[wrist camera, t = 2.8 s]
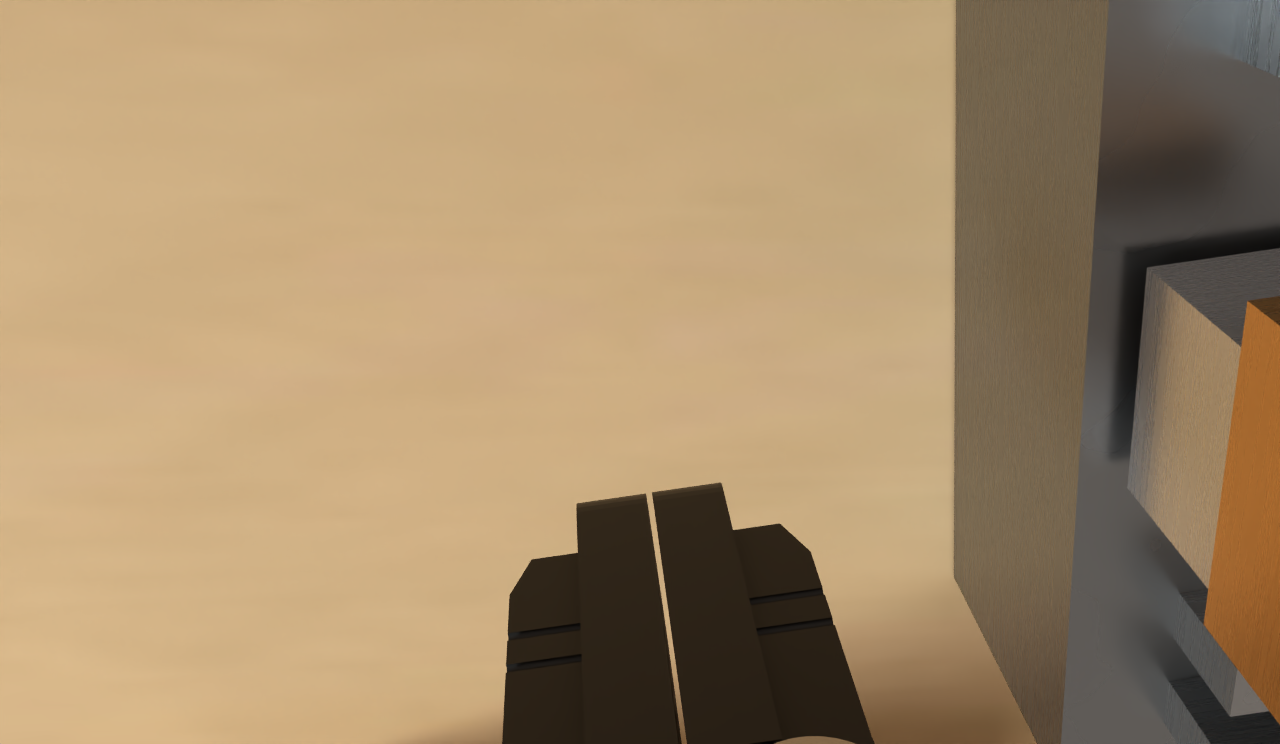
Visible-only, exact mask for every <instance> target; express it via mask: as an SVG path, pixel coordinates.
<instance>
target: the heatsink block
mask: <svg viewBox="0 0 1280 744" xmlns="http://www.w3.org/2000/svg"><path fill="white" fill-rule="evenodd" d="M1277 248H1280V0H956V207H955V472H954V578H955V580H956V582H957V584H958V586H959V588H960V590H961V592H962V594H963V596H964V598H965V600H966V602H967V604H968V606H969V608H970V610H971V612H972V614H973V616H974V618H975V620H976V622H977V624H978V626H979V628H980V630H981V632H982V634H983V636H984V638H985V640H986V642H987V644H988V646H989V648H990V650H991V652H992V654H993V656H994V658H995V660H996V662H997V664H998V666H999V668H1000V670H1001V672H1002V674H1003V676H1004V678H1005V680H1006V682H1007V684H1008V686H1009V688H1010V690H1011V692H1012V694H1013V696H1014V698H1015V700H1016V702H1017V704H1018V706H1019V708H1020V710H1021V712H1022V714H1023V716H1024V718H1025V720H1026V722H1027V724H1028V726H1029V728H1030V730H1031V732H1032V734H1033V736H1034V738H1035V740H1036V742H1037V744H1280V725H1279V723H1278V722H1277V721H1276V719H1275V718H1274V717H1273V715H1272V714H1271V713H1270V711H1269V710H1268V709H1267V707H1266V706H1265V705H1264V703H1263V702H1262V701H1261V700H1260V698H1259V697H1258V696H1257V694H1256V693H1255V692H1254V690H1253V689H1252V688H1251V686H1250V685H1249V684H1248V682H1247V681H1246V680H1245V678H1244V677H1243V676H1242V675H1241V673H1240V672H1239V671H1238V669H1237V668H1236V667H1235V665H1234V664H1233V663H1232V661H1231V660H1230V659H1229V657H1228V656H1227V655H1226V653H1225V652H1224V651H1223V650H1222V648H1221V647H1220V646H1219V644H1218V643H1217V642H1216V640H1215V639H1214V638H1213V636H1212V635H1211V634H1210V632H1209V631H1208V630H1207V628H1206V627H1205V626H1204V617H1205V610H1206V603H1207V595H1208V588H1207V587H1206V586H1205V585H1204V583H1203V582H1202V581H1201V580H1200V578H1199V577H1198V576H1197V575H1196V573H1195V572H1194V571H1193V570H1192V568H1191V567H1190V566H1189V564H1188V563H1187V562H1186V561H1185V559H1184V558H1183V557H1182V556H1181V554H1180V553H1179V552H1178V551H1177V549H1176V548H1175V547H1174V546H1173V544H1172V543H1171V542H1170V541H1169V539H1168V538H1167V537H1166V536H1165V534H1164V533H1163V532H1162V531H1161V529H1160V528H1159V527H1158V526H1157V524H1156V523H1155V522H1154V521H1153V519H1152V518H1151V517H1150V516H1149V514H1148V513H1147V512H1146V511H1145V509H1144V508H1143V507H1142V506H1141V504H1140V503H1139V502H1138V501H1137V499H1136V498H1135V497H1134V495H1133V494H1132V493H1131V492H1130V490H1129V489H1128V488H1127V487H1128V475H1129V464H1130V453H1131V442H1132V431H1133V419H1134V408H1135V397H1136V386H1137V374H1138V363H1139V352H1140V341H1141V330H1142V318H1143V307H1144V296H1145V285H1146V273H1147V267H1153V266H1160V265H1167V264H1174V263H1181V262H1188V261H1194V260H1201V259H1208V258H1215V257H1222V256H1229V255H1236V254H1242V253H1249V252H1256V251H1263V250H1270V249H1277Z"/></svg>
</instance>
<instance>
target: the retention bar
mask: <svg viewBox="0 0 1280 744" xmlns="http://www.w3.org/2000/svg"><path fill="white" fill-rule="evenodd" d="M1127 488H1128V489H1129V490H1130V492H1131V493H1132V494H1133V495H1134V497H1135V498H1136V499H1137V501H1138V502H1139V503H1140V504H1141V506H1142V507H1143V508H1144V509H1145V511H1146V512H1147V513H1148V514H1149V516H1150V517H1151V518H1152V519H1153V521H1154V522H1155V523H1156V524H1157V526H1158V527H1159V528H1160V529H1161V531H1162V532H1163V533H1164V534H1165V536H1166V537H1167V538H1168V539H1169V541H1170V542H1171V543H1172V544H1173V546H1174V547H1175V548H1176V549H1177V551H1178V552H1179V553H1180V554H1181V556H1182V557H1183V558H1184V559H1185V561H1186V562H1187V563H1188V564H1189V566H1190V567H1191V568H1192V570H1193V571H1194V572H1195V573H1196V575H1197V576H1198V577H1199V578H1200V580H1201V581H1202V582H1203V583H1204V585H1205V586H1206V587H1207V588H1208V595H1207V603H1206V610H1205V617H1204V626H1205V627H1206V628H1207V630H1208V631H1209V632H1210V634H1211V635H1212V636H1213V638H1214V639H1215V640H1216V642H1217V643H1218V644H1219V646H1220V647H1221V648H1222V650H1223V651H1224V652H1225V653H1226V655H1227V656H1228V657H1229V659H1230V660H1231V661H1232V663H1233V664H1234V665H1235V667H1236V668H1237V669H1238V671H1239V672H1240V673H1241V675H1242V676H1243V677H1244V678H1245V680H1246V681H1247V682H1248V684H1249V685H1250V686H1251V688H1252V689H1253V690H1254V692H1255V693H1256V694H1257V696H1258V697H1259V698H1260V700H1261V701H1262V702H1263V703H1264V705H1265V706H1266V707H1267V709H1268V710H1269V711H1270V713H1271V714H1272V715H1273V717H1274V718H1275V719H1276V721H1277V722H1278V723H1279V725H1280V248H1277V249H1270V250H1263V251H1256V252H1249V253H1242V254H1236V255H1229V256H1222V257H1215V258H1208V259H1201V260H1194V261H1188V262H1181V263H1174V264H1167V265H1160V266H1153V267H1147V273H1146V285H1145V296H1144V307H1143V318H1142V330H1141V341H1140V352H1139V363H1138V374H1137V386H1136V397H1135V408H1134V419H1133V431H1132V442H1131V453H1130V464H1129V475H1128V487H1127Z"/></svg>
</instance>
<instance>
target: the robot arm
mask: <svg viewBox="0 0 1280 744" xmlns="http://www.w3.org/2000/svg"><path fill="white" fill-rule="evenodd" d="M652 495H653V503H654V510H655V517H656V524H657V531H658V538H659V546H660V553H661V560H662V567H663V574H664V581H665V589H666V596H667V603H668V610H669V617H670V624H671V632H672V639H673V646H674V653H675V660H676V667H677V675H678V682H679V689H680V696H681V703H682V710H683V718H684V725H685V732H686V739H687V744H875V743H874V741H873V739H872V737H871V734H870V730H869V727H868V724H867V721H866V718H865V715H864V712H863V709H862V706H861V703H860V700H859V697H858V694H857V691H856V688H855V685H854V682H853V679H852V676H851V673H850V670H849V667H848V664H847V661H846V658H845V655H844V652H843V649H842V646H841V643H840V640H839V637H838V633H837V630H836V627H835V625H833V620H832V615H831V612H830V609H829V606H828V603H827V600H826V597H825V595H824V594H823V589H822V585H821V582H820V579H819V576H818V573H817V570H816V567H815V564H814V561H813V558H812V555H811V552H810V551H809V550H808V549H807V548H806V547H805V546H804V545H803V544H802V543H800V542H799V541H798V540H797V539H796V538H795V537H794V536H793V535H792V534H791V533H790V532H788V531H787V530H786V529H785V528H784V527H783V526H782V525H781V524H774V525H767V526H760V527H753V528H746V529H739V530H733V529H732V525H731V520H730V516H729V512H728V508H727V504H726V499H725V495H724V491H723V487H722V484H721V483H714V484H707V485H700V486H694V487H687V488H680V489H673V490H666V491H659V492H652ZM576 509H577V540H578V553H574V554H567V555H560V556H553V557H546V558H539V559H532V560H531V562H530V563H529V565H528V566H527V568H526V570H525V571H524V573H523V575H522V576H521V578H520V579H519V581H518V583H517V584H516V586H515V587H514V589H513V591H512V592H511V594H510V599H509V619H508V638H509V641H507V660H506V666H507V673H506V680H505V701H504V721H503V741H502V744H682V743H681V735H680V728H679V721H678V713H677V706H676V698H675V691H674V683H673V676H672V668H671V661H670V654H669V647H668V640H667V632H666V626H665V619H664V612H663V605H662V598H661V591H660V585H659V578H658V571H657V564H656V558H655V551H654V544H653V537H652V531H651V524H650V517H649V510H648V504H647V497H646V494H640V495H633V496H626V497H619V498H612V499H605V500H598V501H591V502H584V503H577V508H576Z"/></svg>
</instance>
